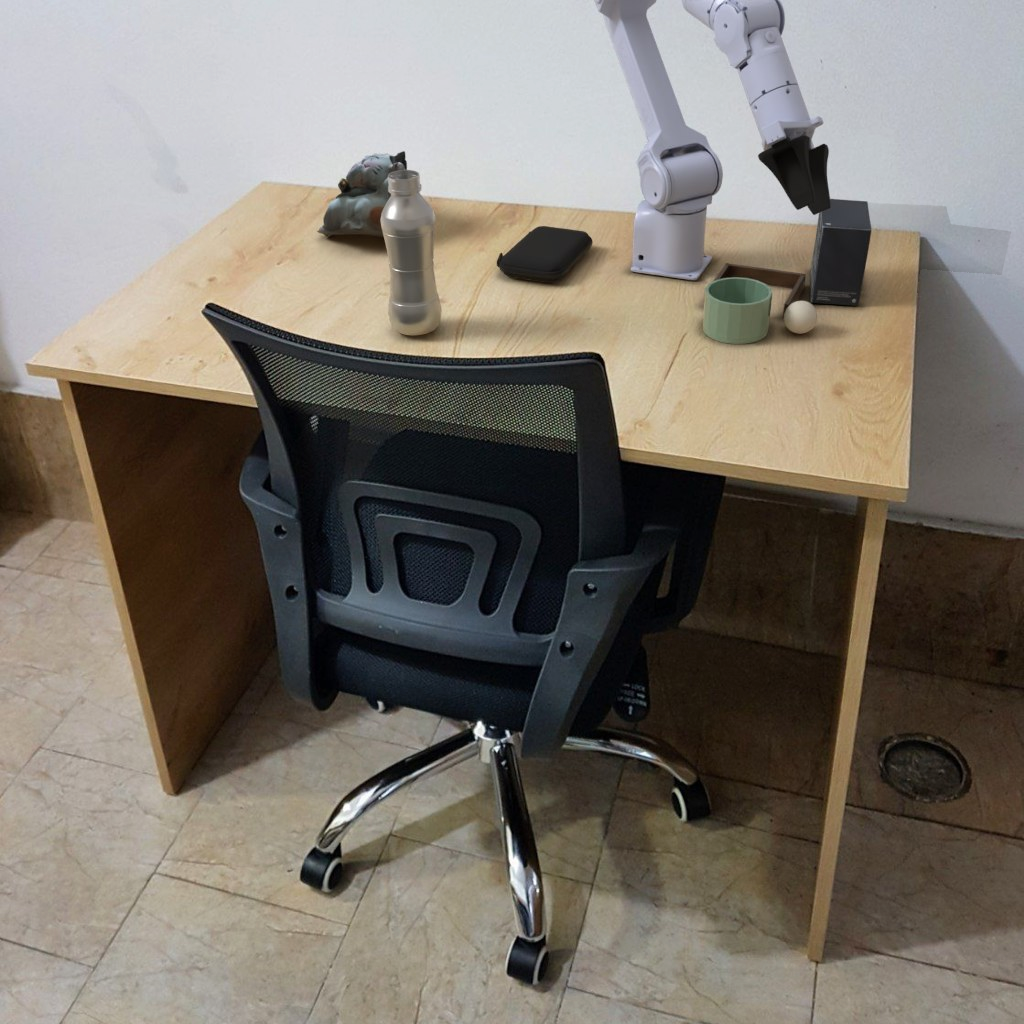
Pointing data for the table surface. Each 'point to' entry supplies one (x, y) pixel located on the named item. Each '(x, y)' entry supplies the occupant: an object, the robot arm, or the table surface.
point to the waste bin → (737, 310)
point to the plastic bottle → (410, 256)
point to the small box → (840, 253)
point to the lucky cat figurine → (362, 196)
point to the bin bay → (767, 278)
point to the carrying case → (545, 254)
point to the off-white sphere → (800, 317)
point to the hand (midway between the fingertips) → (814, 208)
